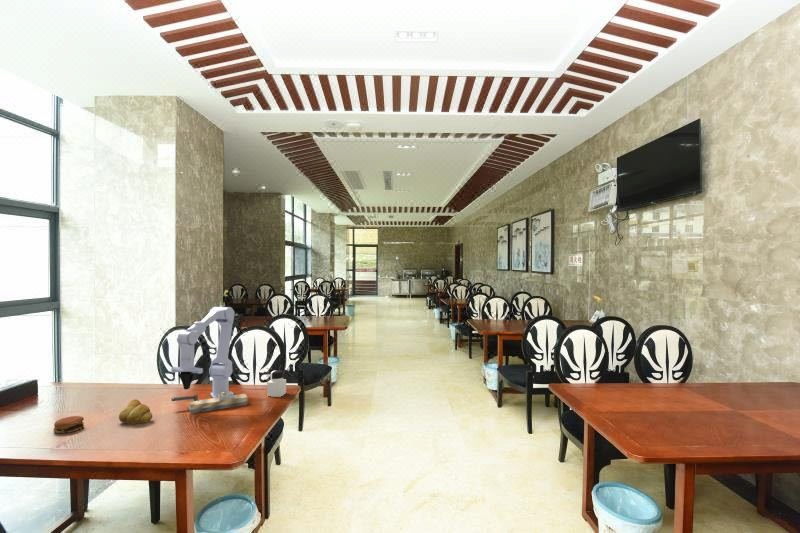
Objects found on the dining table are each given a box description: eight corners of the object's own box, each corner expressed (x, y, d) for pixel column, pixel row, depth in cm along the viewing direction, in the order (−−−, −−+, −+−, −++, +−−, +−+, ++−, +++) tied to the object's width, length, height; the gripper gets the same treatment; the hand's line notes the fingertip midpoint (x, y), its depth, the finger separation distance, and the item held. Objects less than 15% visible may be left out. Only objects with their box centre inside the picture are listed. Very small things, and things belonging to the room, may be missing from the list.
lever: (197, 405, 192) (197, 394, 192) (197, 406, 191) (197, 395, 191) (171, 408, 188) (171, 397, 188) (171, 409, 186) (171, 398, 186)
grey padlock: (286, 393, 215) (286, 369, 215) (281, 397, 208) (281, 372, 208) (272, 392, 215) (272, 369, 216) (267, 396, 208) (267, 372, 208)
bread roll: (158, 419, 175) (158, 400, 176) (136, 427, 166) (137, 407, 166) (135, 416, 180) (135, 397, 180) (113, 424, 170) (113, 404, 171)
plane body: (190, 413, 183) (190, 405, 183) (188, 409, 189) (188, 401, 189) (247, 404, 196) (247, 397, 196) (244, 400, 201) (244, 393, 202)
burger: (50, 430, 164) (50, 418, 164) (79, 423, 171) (80, 412, 171) (57, 436, 157) (57, 424, 157) (87, 429, 165) (87, 417, 165)
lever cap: (217, 397, 194) (217, 391, 194) (231, 395, 197) (231, 389, 197) (219, 400, 190) (219, 394, 190) (233, 398, 193) (233, 392, 193)
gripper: (166, 359, 186) (166, 390, 186) (195, 360, 183) (195, 392, 183) (177, 356, 193) (177, 386, 193) (206, 357, 190) (205, 387, 190)
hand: (186, 388), depth 188 cm, fingers closed
